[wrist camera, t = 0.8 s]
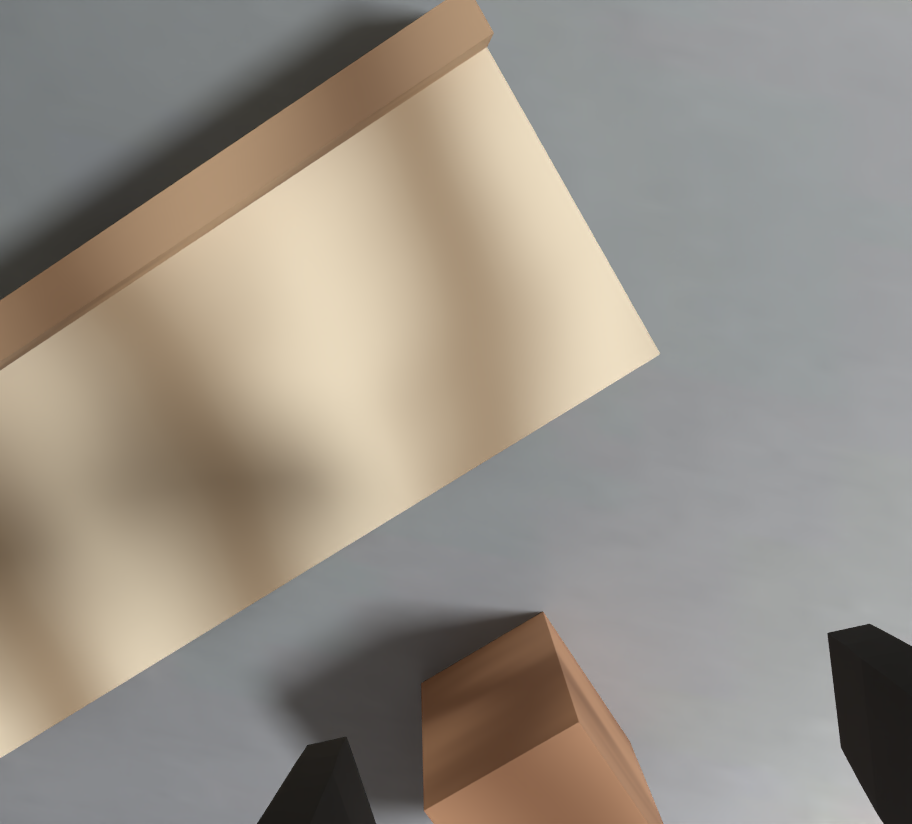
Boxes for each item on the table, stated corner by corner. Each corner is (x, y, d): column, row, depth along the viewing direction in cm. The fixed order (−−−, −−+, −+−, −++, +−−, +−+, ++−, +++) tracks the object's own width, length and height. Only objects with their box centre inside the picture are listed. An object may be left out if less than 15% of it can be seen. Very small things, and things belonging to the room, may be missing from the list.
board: (-40, 766, 22) (-99, 840, 20) (-281, 512, 20) (-383, 558, 18) (646, 345, 21) (680, 366, 18) (459, 16, 18) (467, -15, 16)
